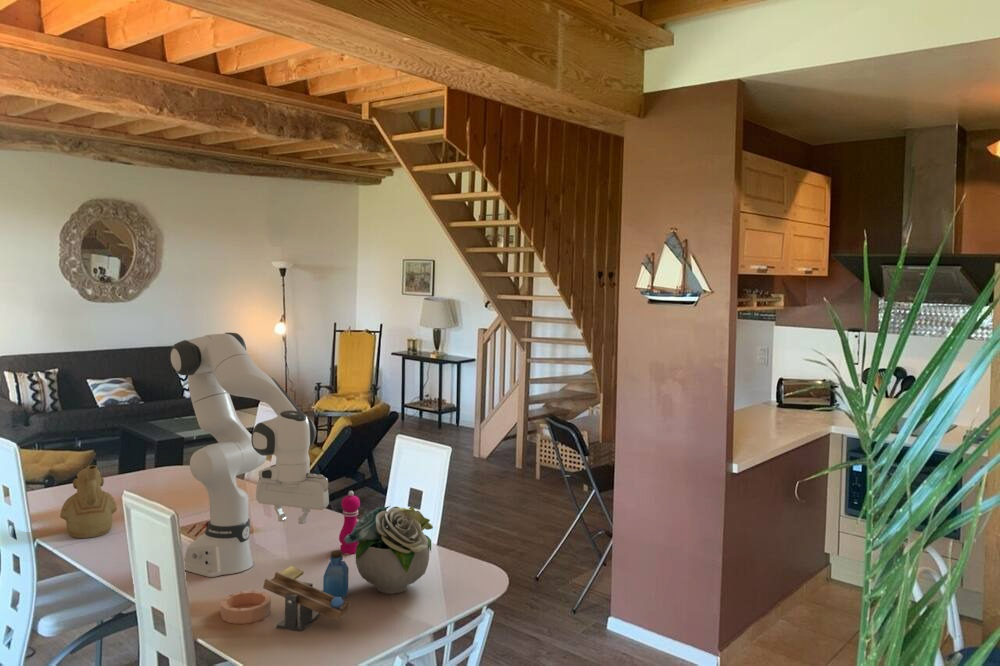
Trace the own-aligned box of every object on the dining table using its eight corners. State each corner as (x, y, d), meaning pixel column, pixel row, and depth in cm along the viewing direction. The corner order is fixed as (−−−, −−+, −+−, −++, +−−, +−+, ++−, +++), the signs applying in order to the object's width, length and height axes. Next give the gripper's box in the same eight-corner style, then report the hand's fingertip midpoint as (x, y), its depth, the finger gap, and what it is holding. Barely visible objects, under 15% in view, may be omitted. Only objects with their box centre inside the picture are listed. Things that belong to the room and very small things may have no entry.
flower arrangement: (398, 615, 198) (400, 525, 197) (330, 592, 212) (331, 508, 210) (452, 584, 219) (454, 503, 218) (387, 565, 233) (389, 489, 231)
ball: (327, 609, 189) (329, 598, 189) (333, 604, 192) (335, 593, 192) (338, 613, 188) (341, 602, 188) (344, 608, 191) (346, 597, 191)
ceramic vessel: (113, 521, 267) (113, 452, 266) (120, 537, 251) (120, 464, 249) (58, 528, 258) (58, 457, 256) (62, 546, 242) (61, 470, 240)
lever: (262, 588, 192) (265, 577, 192) (290, 568, 205) (292, 559, 205) (337, 620, 187) (340, 610, 187) (360, 599, 200) (363, 589, 200)
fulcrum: (276, 627, 189) (276, 595, 189) (296, 611, 199) (296, 580, 198) (301, 631, 187) (301, 598, 187) (320, 615, 197) (320, 583, 196)
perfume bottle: (326, 588, 214) (327, 548, 213) (348, 588, 215) (348, 548, 214) (323, 598, 208) (323, 556, 207) (345, 597, 208) (346, 556, 208)
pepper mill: (356, 555, 241) (357, 494, 239) (335, 553, 242) (336, 493, 241) (364, 548, 248) (365, 489, 246) (344, 545, 249) (345, 487, 248)
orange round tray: (210, 620, 192) (211, 606, 192) (239, 600, 204) (239, 588, 204) (253, 626, 189) (253, 613, 189) (279, 606, 201) (279, 594, 201)
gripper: (333, 472, 201) (332, 522, 202) (265, 465, 206) (265, 514, 207) (322, 478, 195) (321, 529, 195) (253, 471, 200) (252, 521, 200)
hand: (292, 522), depth 201 cm, fingers open, 5 cm apart
